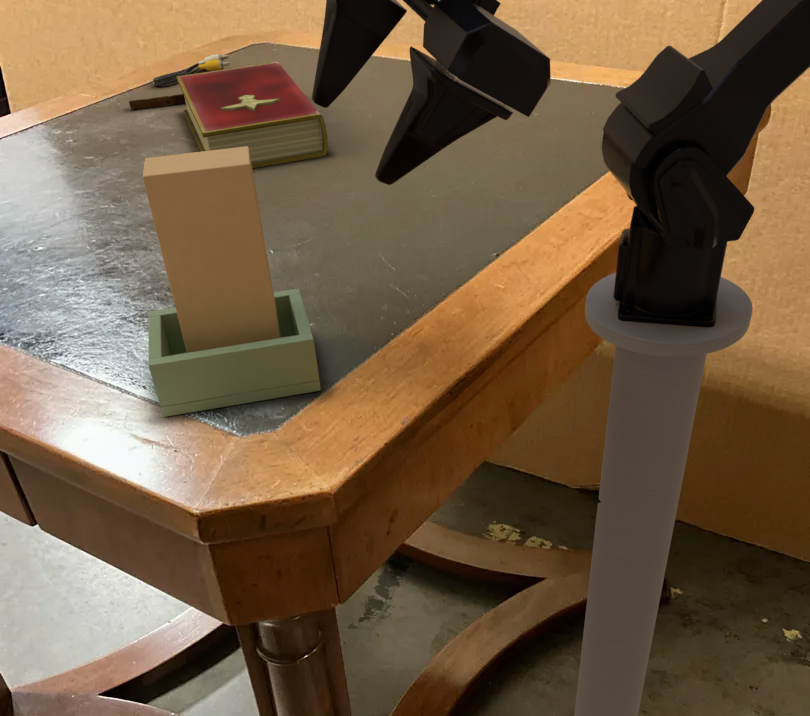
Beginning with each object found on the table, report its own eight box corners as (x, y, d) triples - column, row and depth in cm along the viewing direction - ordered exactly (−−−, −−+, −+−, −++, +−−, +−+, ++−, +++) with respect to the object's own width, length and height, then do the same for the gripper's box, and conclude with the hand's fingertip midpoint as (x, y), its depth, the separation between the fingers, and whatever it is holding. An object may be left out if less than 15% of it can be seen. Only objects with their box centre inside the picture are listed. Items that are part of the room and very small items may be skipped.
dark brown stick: (258, 93, 107) (257, 84, 106) (258, 94, 107) (257, 85, 106) (131, 109, 105) (128, 100, 105) (130, 110, 105) (128, 101, 104)
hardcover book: (286, 97, 105) (280, 58, 102) (329, 155, 90) (324, 110, 87) (184, 113, 103) (175, 73, 100) (211, 175, 88) (201, 130, 85)
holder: (161, 361, 62) (148, 311, 59) (306, 338, 63) (299, 287, 60) (163, 417, 57) (148, 365, 54) (321, 391, 58) (313, 338, 55)
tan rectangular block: (193, 354, 61) (144, 157, 52) (282, 342, 61) (248, 145, 52) (193, 377, 58) (141, 176, 50) (284, 365, 59) (250, 163, 50)
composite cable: (155, 88, 111) (150, 67, 109) (152, 78, 114) (147, 57, 113) (233, 77, 113) (230, 55, 111) (228, 68, 116) (224, 46, 114)
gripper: (295, -293, 45) (177, 17, 53) (476, -176, 35) (297, 182, 43) (452, -167, 52) (328, 87, 60) (637, -42, 42) (459, 242, 51)
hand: (349, 141), depth 53 cm, fingers open, 9 cm apart
